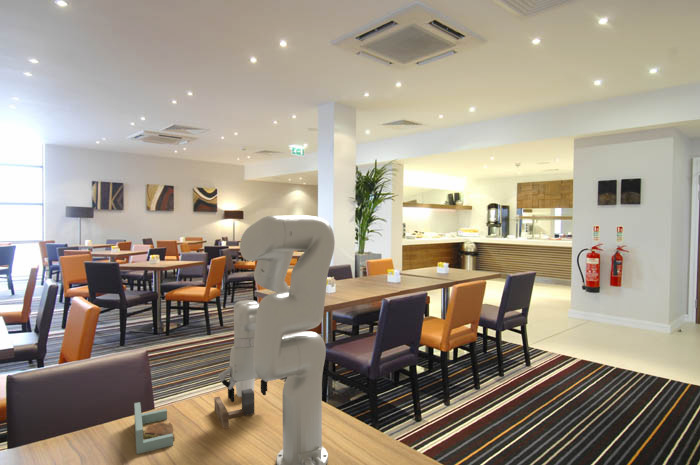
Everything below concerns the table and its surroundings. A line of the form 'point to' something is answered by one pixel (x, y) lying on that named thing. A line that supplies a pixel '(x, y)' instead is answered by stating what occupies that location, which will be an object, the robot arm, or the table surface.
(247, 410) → the wall doorstop
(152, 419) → the bracket
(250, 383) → the shot glass
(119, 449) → the table surface
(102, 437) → the table surface
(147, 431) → the shard
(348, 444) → the table surface
